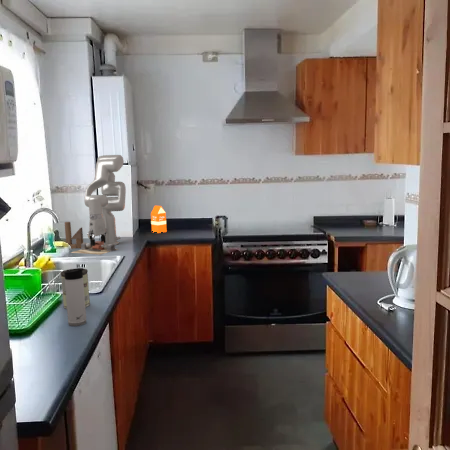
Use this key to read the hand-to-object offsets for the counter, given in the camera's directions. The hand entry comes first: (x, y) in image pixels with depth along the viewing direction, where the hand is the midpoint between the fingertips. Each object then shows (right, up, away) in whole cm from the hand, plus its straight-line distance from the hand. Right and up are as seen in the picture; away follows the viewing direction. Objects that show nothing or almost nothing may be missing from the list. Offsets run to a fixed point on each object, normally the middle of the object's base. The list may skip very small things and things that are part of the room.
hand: (98, 244), depth 322 cm
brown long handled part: (-17, -4, +10) cm, 20 cm away
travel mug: (+26, -23, -137) cm, 141 cm away
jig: (-1, -5, -3) cm, 6 cm away
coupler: (0, -4, 0) cm, 3 cm away
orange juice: (+29, +6, +72) cm, 78 cm away
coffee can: (+19, -21, -115) cm, 118 cm away
